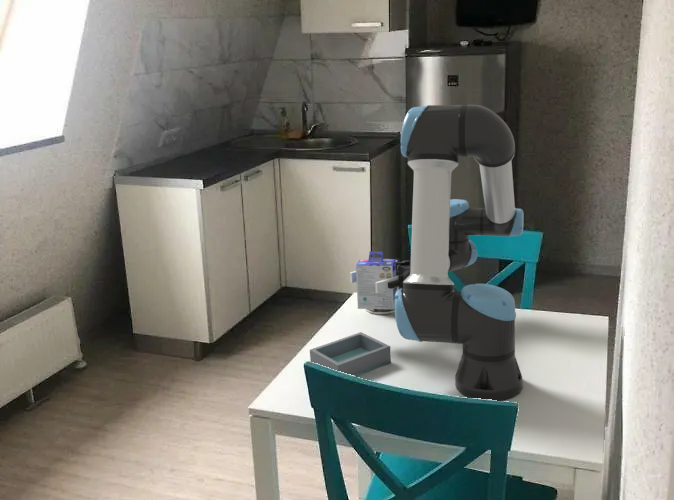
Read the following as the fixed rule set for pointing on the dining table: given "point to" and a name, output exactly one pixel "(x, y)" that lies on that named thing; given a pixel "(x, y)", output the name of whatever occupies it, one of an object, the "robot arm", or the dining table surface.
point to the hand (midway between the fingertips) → (363, 282)
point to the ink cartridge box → (366, 280)
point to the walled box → (352, 354)
